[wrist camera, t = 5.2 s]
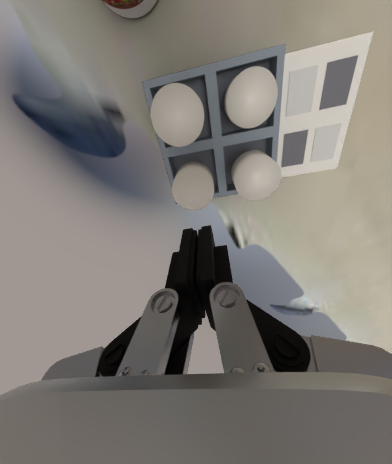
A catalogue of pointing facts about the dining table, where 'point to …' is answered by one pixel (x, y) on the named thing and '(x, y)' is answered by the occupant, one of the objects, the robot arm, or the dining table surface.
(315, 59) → the card
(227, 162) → the button board
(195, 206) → the button
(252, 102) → the button
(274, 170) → the button
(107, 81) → the dining table surface
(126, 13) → the milk bottle
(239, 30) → the dining table surface
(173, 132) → the button
